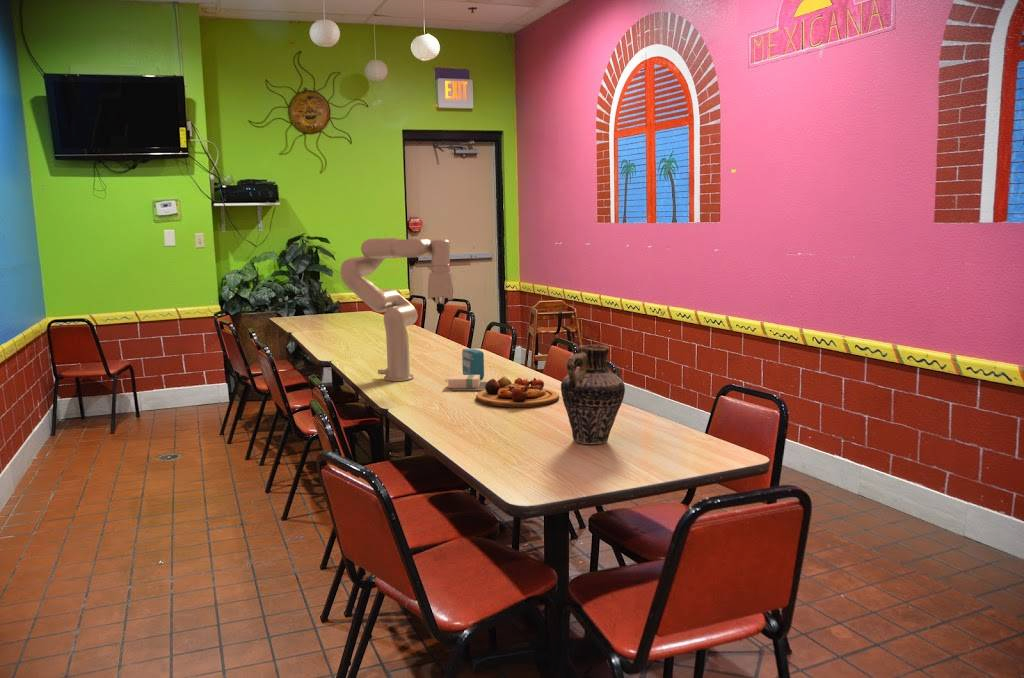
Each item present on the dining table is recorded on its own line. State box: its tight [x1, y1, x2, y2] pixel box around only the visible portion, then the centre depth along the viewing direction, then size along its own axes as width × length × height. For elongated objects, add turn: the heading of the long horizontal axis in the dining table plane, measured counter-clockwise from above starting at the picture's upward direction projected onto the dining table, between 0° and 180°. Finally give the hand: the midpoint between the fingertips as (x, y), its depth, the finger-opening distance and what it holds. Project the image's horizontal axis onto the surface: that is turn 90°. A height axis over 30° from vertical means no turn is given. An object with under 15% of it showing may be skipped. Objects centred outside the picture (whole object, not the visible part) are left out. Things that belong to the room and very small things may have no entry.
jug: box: [560, 344, 626, 446], centre depth 248 cm, size 21×19×30 cm
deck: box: [447, 374, 481, 389], centre depth 332 cm, size 4×9×12 cm
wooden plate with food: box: [475, 376, 560, 408], centre depth 310 cm, size 32×32×8 cm
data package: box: [461, 347, 485, 380], centre depth 352 cm, size 12×4×12 cm, turn 30°
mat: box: [451, 381, 488, 392], centre depth 332 cm, size 19×16×1 cm
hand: (440, 313), depth 338 cm, fingers closed
